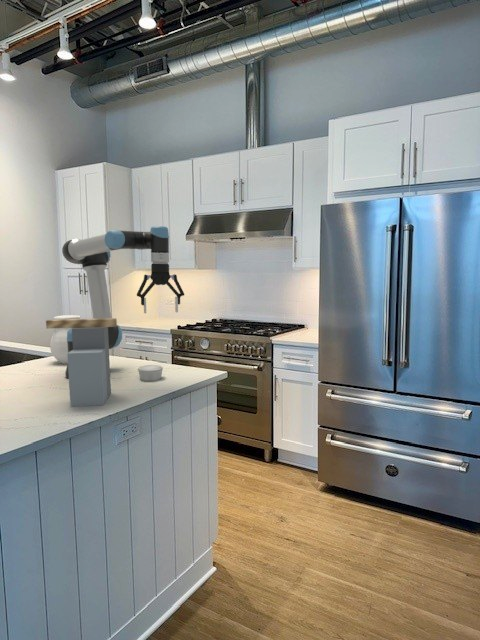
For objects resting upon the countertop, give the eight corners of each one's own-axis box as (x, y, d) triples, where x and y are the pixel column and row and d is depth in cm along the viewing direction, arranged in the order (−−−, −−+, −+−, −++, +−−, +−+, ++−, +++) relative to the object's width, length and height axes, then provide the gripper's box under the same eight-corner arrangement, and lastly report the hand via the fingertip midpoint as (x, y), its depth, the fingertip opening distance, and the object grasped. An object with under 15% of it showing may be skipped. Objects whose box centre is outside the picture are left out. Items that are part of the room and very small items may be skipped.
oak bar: (46, 328, 177) (45, 320, 177) (48, 327, 180) (48, 319, 180) (115, 326, 180) (115, 319, 179) (116, 325, 183) (116, 318, 182)
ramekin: (157, 382, 205) (157, 370, 204) (134, 381, 207) (133, 369, 206) (166, 376, 216) (166, 365, 215) (144, 375, 218) (143, 364, 217)
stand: (70, 406, 171) (66, 331, 168) (80, 394, 187) (76, 325, 184) (103, 405, 172) (99, 330, 169) (111, 393, 188) (107, 325, 185)
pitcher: (79, 357, 263) (76, 313, 260) (93, 361, 249) (91, 316, 246) (45, 362, 250) (42, 316, 247) (59, 367, 237) (56, 319, 234)
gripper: (130, 263, 190) (132, 314, 193) (190, 263, 197) (191, 312, 200) (129, 263, 197) (130, 312, 200) (187, 263, 204) (187, 310, 207)
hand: (161, 312), depth 200 cm, fingers open, 13 cm apart
